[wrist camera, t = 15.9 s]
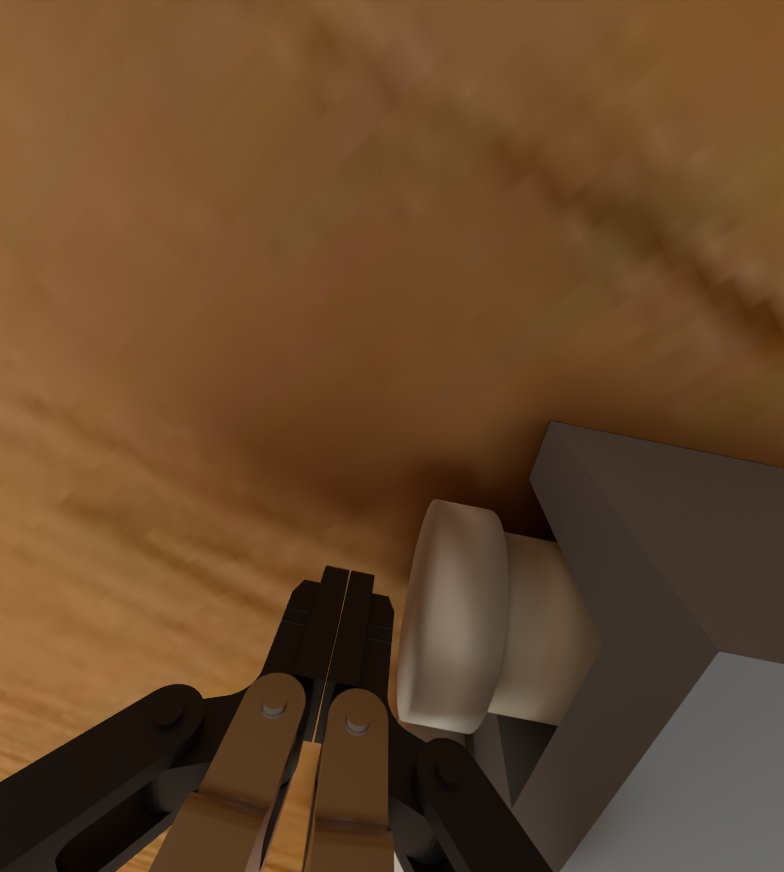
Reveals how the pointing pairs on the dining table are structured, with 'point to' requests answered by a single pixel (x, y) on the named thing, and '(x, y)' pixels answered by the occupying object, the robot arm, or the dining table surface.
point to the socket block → (658, 665)
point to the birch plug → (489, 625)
